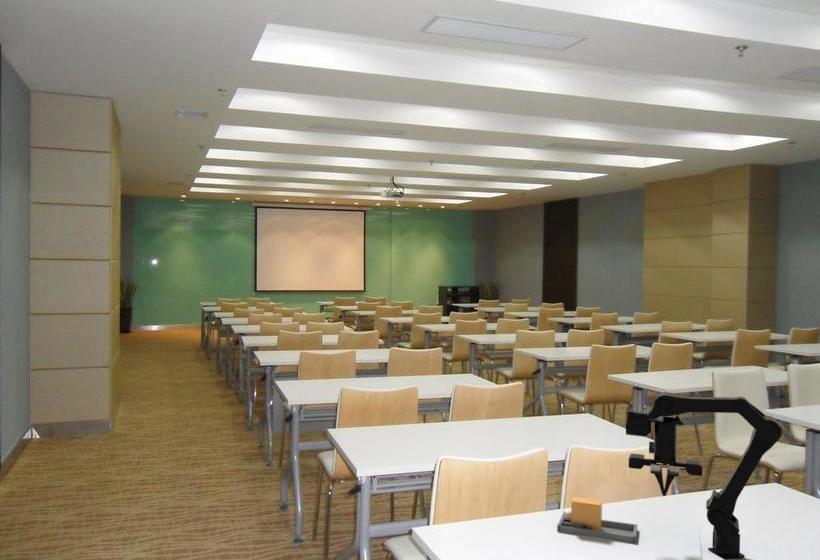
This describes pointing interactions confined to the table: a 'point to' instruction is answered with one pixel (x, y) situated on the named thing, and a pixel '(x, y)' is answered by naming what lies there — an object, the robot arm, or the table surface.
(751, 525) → the table surface
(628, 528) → the tray
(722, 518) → the robot arm
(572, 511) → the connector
